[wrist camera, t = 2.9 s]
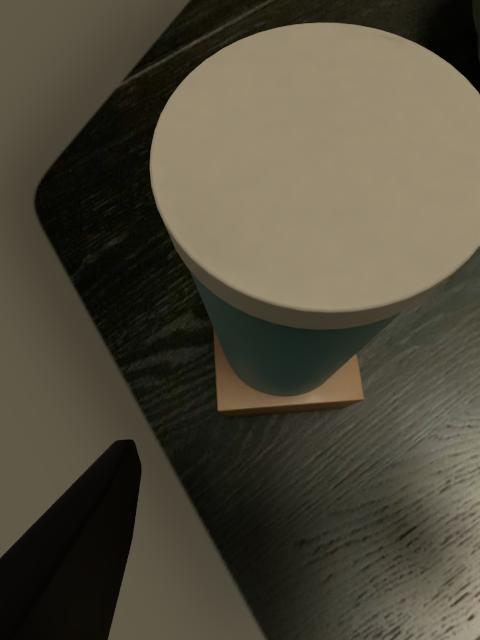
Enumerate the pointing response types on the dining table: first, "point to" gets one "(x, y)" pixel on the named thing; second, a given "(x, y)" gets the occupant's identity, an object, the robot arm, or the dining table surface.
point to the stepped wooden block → (251, 402)
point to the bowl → (477, 21)
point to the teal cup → (317, 192)
